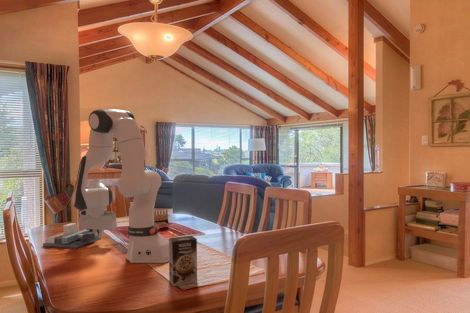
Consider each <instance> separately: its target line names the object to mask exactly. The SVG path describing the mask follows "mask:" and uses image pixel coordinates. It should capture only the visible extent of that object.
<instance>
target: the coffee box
mask: <svg viewBox="0 0 470 313" xmlns="http://www.w3.org/2000/svg"><path fill="white" fill-rule="evenodd" d="M168 241H169V261H168V266H169V267H168V268H169V270H168V271H169V274H168V275H169V276H168V279H169V282H170V284H171V286H172V287H178V286H179V287H180V286H184V285H190V284H196V283H198V258H197V257H198V239H197V238H196V237H194V236H193V235H187V236H186V235H185V236H177V237H176V236H175V237H169V238H168Z"/></svg>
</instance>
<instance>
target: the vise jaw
mask: <svg viewBox="0 0 470 313" xmlns="http://www.w3.org/2000/svg"><path fill="white" fill-rule="evenodd" d="M81 238H82V241H83V242H89V241H91V240H94V239H96V238H95V234H94V233H93V232H90V230H86V229H81V230H78V232H77V233H74V234H71V235H68V236H65V237H62V244H68V243H71V242H73V241H76V240H78V239H81Z"/></svg>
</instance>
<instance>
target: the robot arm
mask: <svg viewBox="0 0 470 313" xmlns="http://www.w3.org/2000/svg"><path fill="white" fill-rule="evenodd" d="M88 126H89V127H90V130H89V136H88V148H87V152H86V154H85V155H83V156H82V157H81V158H80V161H79V162H80V163H79V164H78V166H79V167H78V170H77V175H76V181H75V188H74V191H73V194H72V197H71V198H72V199H71V202H72V205H73V207H74V208H75V209H77V210H79V215H80V216H79V217H78V227H79V229H81V230H86V229H93V233H94V234H95V238H101V239H102V238H103V237H102V236H103V235H102V234H103V233H104V231H112V230H113V231H114V230H116V229H117V226H118V224H117V222H118V221H117V218H116V216H117V214H116V213H115V212H114V211H112V210H111V211H107V207H108V206H110V205H111V204H112V202H114V200H113V194H114V193H113V191H112V190H111V189H110V188H109V187H107V186H106V183H105V180H103V179H95V180H90V181H89V182H88V187H87V188H86V184H87V180H88V174H89V172H90V171H91V170H93V169H94V168H96V167H99V166H101V165H104V164H106V163H107V162H109V160H110V159H111V158H112V157H113V152H114V135H115V137H116V141H117V145H118V149H119V155H120V159H121V172H120V173H121V174H120V177H119V179H118V181H117V189H118V191H119V193H120V194H121V195H123V196H125V197H128V198H129V197H131V198H133V200H132V203H131V204H130V206H129V208H128V227H127V235H128V247H127V252H126V257H125V259H126V260H127V261H129V263H130V264H164V263H167V262H168V263H169V239H166V238H165V237H164V236H162V234H161V233H159V230H160V228H159V227H156V226H155V224H154V211H155V205H156V200H157V195H158V191H159V189H160V188H161V186H162V177H161V175H160V174H159V173H158V172H157V171H154V170H150V169H145V160H146V158H147V152H146V147H145V144H144V139H143V136H142V132H141V130H140V127H139V125H138V122H137V121H136V119H135V116H134V114H133V113H132V112H131V111H129V110H125V109H114V108H105V109H102V108H101V109H100V108H99V109H95V110H93V111H91V112H90V114H89V116H88ZM84 209H85V210H84ZM81 210H82V211H81ZM97 229H99V231H97Z"/></svg>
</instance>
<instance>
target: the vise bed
mask: <svg viewBox="0 0 470 313" xmlns="http://www.w3.org/2000/svg"><path fill="white" fill-rule="evenodd" d="M77 232H79V230H78V229H77ZM62 237H63V232H61V233H57V234H54V235H51V236H48V237H47V242H43V243H42V247H45V248H46V247H47V248H62V249H77V250H78V249H79V248H82V247H84V246H86V245H89V244H92V243H94V242H96V241H99V240H101V239H102V237H101V238H96V239H94V240H91V241H89V242H83V241H82V238H81V239H78V240H76V241H73V242H71V243H68V244H62Z"/></svg>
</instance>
